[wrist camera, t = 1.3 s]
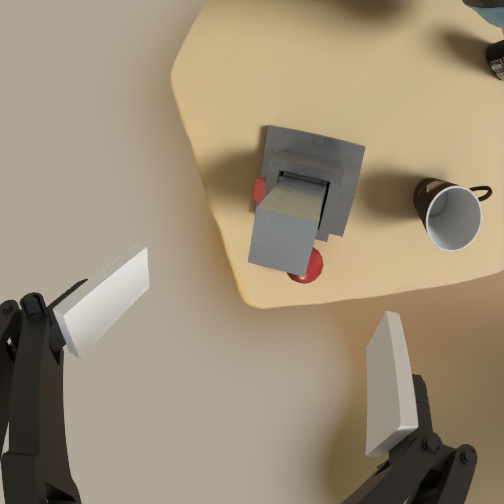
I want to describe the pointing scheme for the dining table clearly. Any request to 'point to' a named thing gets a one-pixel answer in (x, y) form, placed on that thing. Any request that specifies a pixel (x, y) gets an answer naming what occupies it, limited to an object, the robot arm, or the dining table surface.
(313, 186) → the column
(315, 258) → the onion
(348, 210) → the stand
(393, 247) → the dining table surface
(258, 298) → the dining table surface
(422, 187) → the coffee mug
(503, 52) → the beverage can
